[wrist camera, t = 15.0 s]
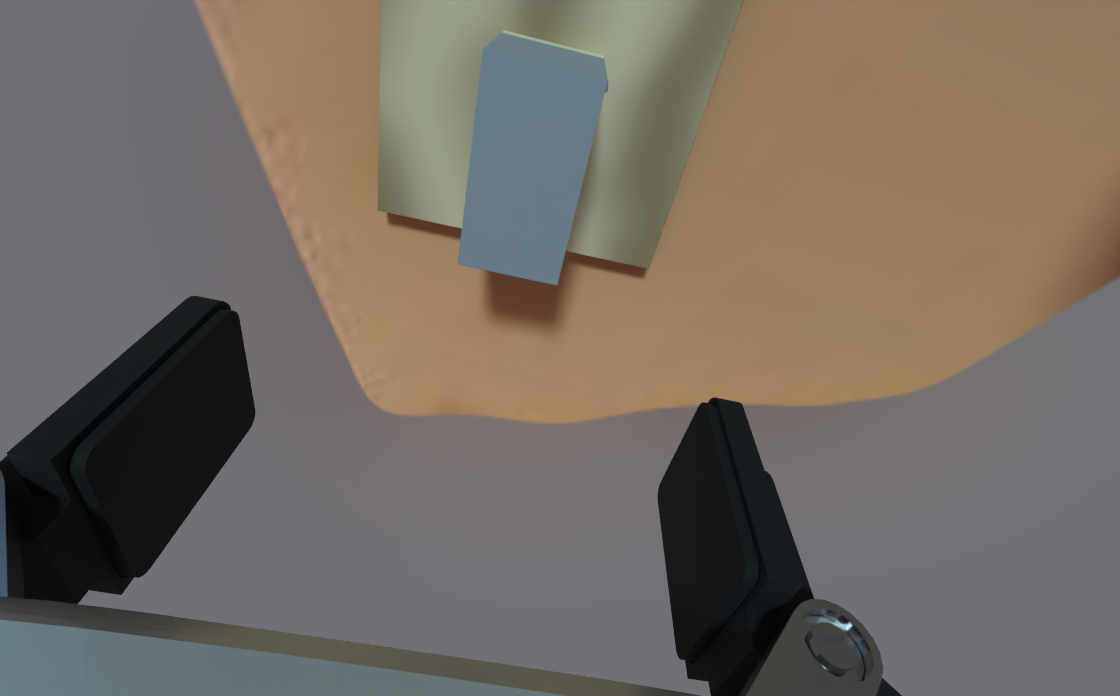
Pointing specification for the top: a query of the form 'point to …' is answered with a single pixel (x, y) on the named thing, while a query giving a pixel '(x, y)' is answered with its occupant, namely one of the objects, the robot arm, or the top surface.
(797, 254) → the top surface
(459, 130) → the board
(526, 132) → the block
